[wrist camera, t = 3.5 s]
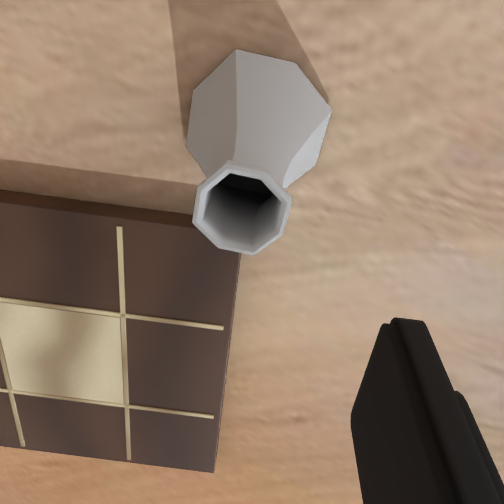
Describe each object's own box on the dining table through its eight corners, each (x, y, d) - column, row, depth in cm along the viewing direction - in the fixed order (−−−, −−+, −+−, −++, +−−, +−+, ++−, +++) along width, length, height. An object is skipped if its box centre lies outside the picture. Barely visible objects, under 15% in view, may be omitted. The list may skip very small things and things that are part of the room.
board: (244, 221, 26) (242, 234, 25) (216, 456, 37) (213, 474, 36) (-137, 171, 26) (-161, 182, 24) (-49, 422, 37) (-62, 439, 36)
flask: (164, 150, 24) (98, 243, 16) (228, 18, 21) (189, 45, 12) (279, 214, 26) (277, 331, 17) (357, 102, 22) (403, 177, 14)
